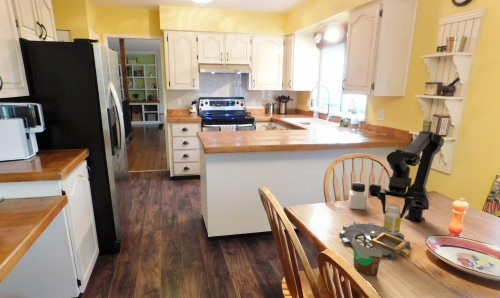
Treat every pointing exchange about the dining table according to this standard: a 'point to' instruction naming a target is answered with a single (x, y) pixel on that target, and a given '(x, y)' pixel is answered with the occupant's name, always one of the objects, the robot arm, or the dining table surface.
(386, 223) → the supplement bottle
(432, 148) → the robot arm
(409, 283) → the dining table surface
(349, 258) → the dining table surface
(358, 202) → the medicine bottle
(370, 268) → the food container
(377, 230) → the sprocket
